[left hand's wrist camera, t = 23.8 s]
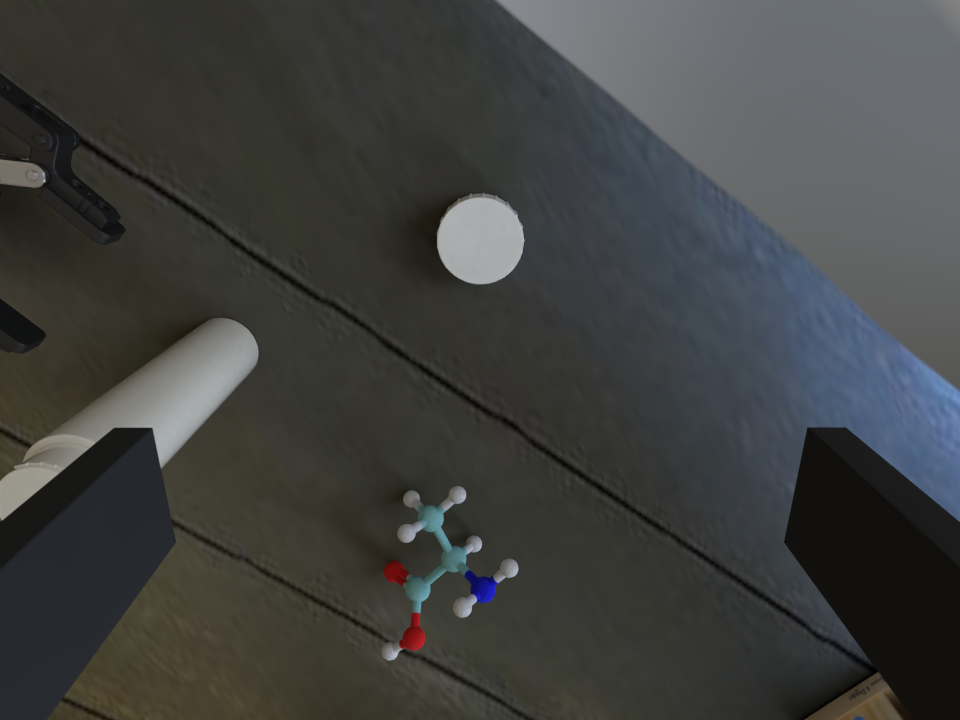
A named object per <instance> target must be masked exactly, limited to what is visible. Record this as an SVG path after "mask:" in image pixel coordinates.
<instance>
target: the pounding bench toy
mask: <svg viewBox="0 0 960 720" xmlns="http://www.w3.org/2000/svg"><path fill="white" fill-rule="evenodd" d="M804 720H913V719H912V717H911V716H910V715H909V713H908V712H907V711H906V709H905V708H904V706H903V705H902V704H901V702H900V701H899V700H898V698H897V697H896V695H895V694H894V693H893V691H892V690H891V689H890V687H889V686H888V684H887V683H886V682H885V680H884V679H883V678H882V676H881V675H880V673H879V672H877V673H876V674H874V675H873V676H871V677H870V678H868V679H866V680H865V681H863V682H862V683H860V684H859V685H857V686H856V687H854V688H853V689H851V690H849V691H848V692H846V693H845V694H843V695H841V696H840V697H838V698H837V699H835V700H834V701H832V702H831V703H829V704H827V705H826V706H824V707H823V708H821V709H820V710H818V711H817V712H815V713H813V714H812V715H810V716H809V717H808V718H806V719H804Z"/></svg>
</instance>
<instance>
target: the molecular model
mask: <svg viewBox="0 0 960 720" xmlns="http://www.w3.org/2000/svg"><path fill="white" fill-rule="evenodd" d="M465 498H466V491H465V490H464V489H463V488H462V487H460V486H455V487H453V488H452V489H451V490H450V492H449V497H448V498H447V499H446V500H444V501H443V502H442V503H441V504H440V505H439V506H438V507H436V506H434V505H428V506H426V507H425V506H424V505H423V504H422V503H421V502H420V497H419V494H418V493H417V492H416V491H412V490H411V491H408V492H406V493H405V494H404V497H403V501H404V504H405V505H406V506H408V507H414V508H415V509H416V510H417V511H418V512H419V515H418V521H417V522H415V523H414V524H412V525H410V524H404V525H402V526H401V527H400V528H399V529H398V534H397V535H398V538H399V539H400V540H401V541H402V542H405V543H408V542H411V541H412V540H413V539H414V537H415V535H416V532H418V531H419V530H421V529H423V530H425V531H428V532H434V534H435V536H436V538H437V539H438V541H439V543H440V544H441V546H442V548H443V550H444V552H443V553H442V556H441V562H442V564H440V565H439V566H438V567H437V568H436V569H435V570H433V571H432V572H431V573H430V574H429V575H428V576H426V577H425V578H424V577H422V576H416V577H414V576H413V575H411V574H410V573H409V572H407V571H406V570H405V569H404V566H403V565H402V563H400V562H399V561H391V562H389V563H388V564H387V565H386V567H385V569H384V575H385V578H386V579H387V580H388V581H390V582H397V583H398V584H400V585H401V586H402V587H403V588H405V589H406V595H407V597H408V598H409V599H410V600H411V601H413V604H412V618H411V627H409V628H408V629H407V630H406V631H405V633H404V635H403V639H402V640H400V641H398V642H396V643H394V642H387V643H386V644H384V646H383V648H382V656H383V657H384V658H385V659H386V660H393V659H395V658H396V657H397V655H398V652H399V651H401V650H402V649H404V648H406V647H407V648H408V649H409V650H418V649H420V648H421V647H422V646H423V644H424V642H425V634H424V631H423V630H422V629H421V628H420V627H419V622H420V611H421V602H422V601H424V600H425V599H427V597H428V596H429V594H430V584H431V583H433V582H434V581H435V580H436V579H437V578H438V577H440V576H441V575H442V574H443V573H444V572H446V571H450V572H457V571H460V572H461V574H462V575H463V576H464V577H465V578H466V579H467V580H468V581H469V582H470V583H471V584H472V585H471V594H470V595H469V596H468V597H467V598H464V597H462V598H459V599H457V600H456V601H455V602H454V605H453V610H454V613H455V614H456V615H457V616H458V617H467V616H468V615H469V614H470V613H471V610H472V605H473V604H474V603H475V602H479V603H486V602H489V601H490V600H492V598H493V597H494V595H495V585H497V584H498V583H499V582H500V581H502V580H503V579H504V578H505V577H508V578H510V577H514V576H515V575H516V574H517V572H518V564H517V563H516V561H514V560H513V559H506V560H504V561H503V562H502V563H501V566H500V570H499V571H498V572H497V573H495V574H494V575H493V576H492V577H490V578H487V577H484V576H483V577H479V578H478V577H477V576H476V575H475V574H474V573H473V572H472V571H471V570H470V569H469V568H468V567H467V566H466V565H465V563H466V555H467V554H468V553H469V552H477V551H479V550H480V549H481V547H482V541H481V539H480V538H479V537H477V536H470V537H469V538H468V539H467V541H466V545H465V546H464V547H462V548H460V547H458V546H451V544H450V543H449V541H448V539H447V537H446V536H445V534H444V532H443V530H442V529H441V525H442V524H443V520H444V516H443V513H444V512H445V511H446V510H448V509H449V508H450V507H451V506H452V505H453V504H454V503H455V504H460V503H462V502H463V501H464V500H465ZM403 577H404V578H405V579H407V580H408V582H407V581H406V580H404V579H403Z"/></svg>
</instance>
